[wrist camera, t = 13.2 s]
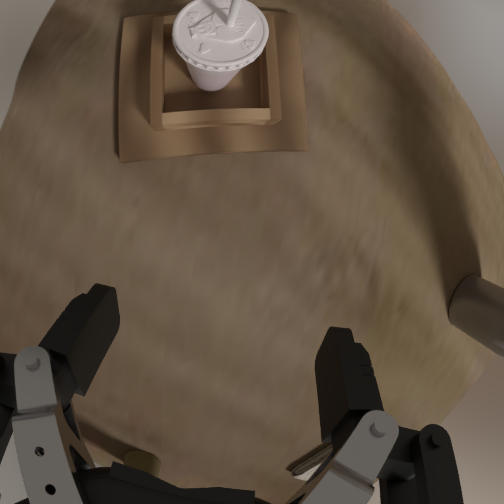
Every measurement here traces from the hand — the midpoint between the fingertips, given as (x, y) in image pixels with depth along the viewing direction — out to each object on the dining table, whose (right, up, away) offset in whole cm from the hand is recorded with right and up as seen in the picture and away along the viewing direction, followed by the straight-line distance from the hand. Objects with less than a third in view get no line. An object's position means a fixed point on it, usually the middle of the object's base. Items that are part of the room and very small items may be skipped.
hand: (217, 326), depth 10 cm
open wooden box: (-3, +20, +15) cm, 25 cm away
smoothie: (-3, +19, +14) cm, 24 cm away
